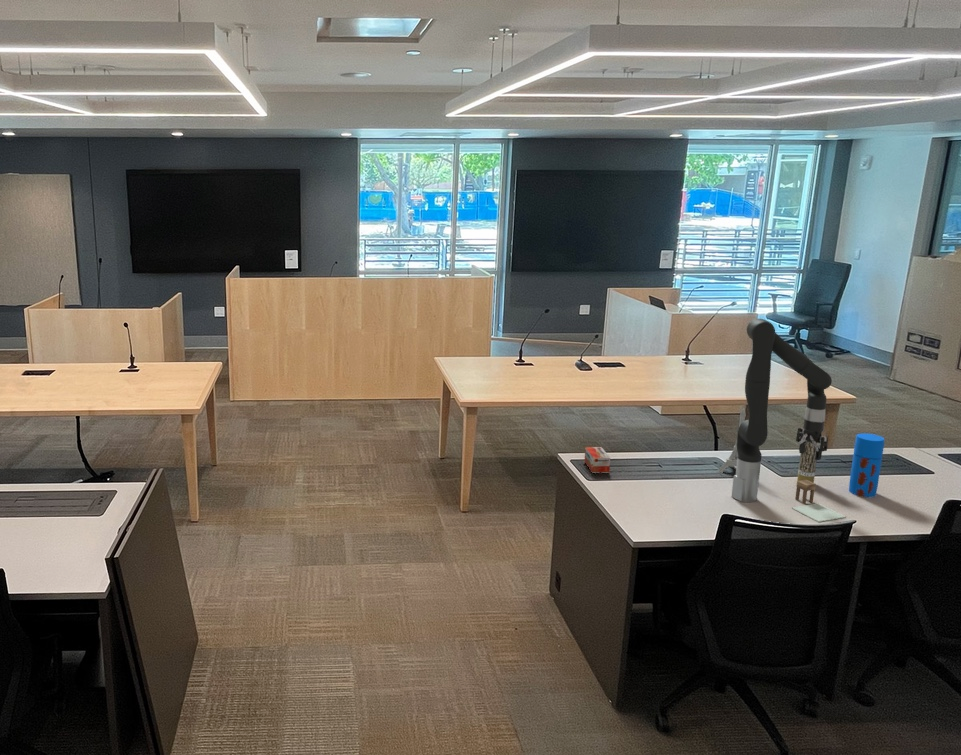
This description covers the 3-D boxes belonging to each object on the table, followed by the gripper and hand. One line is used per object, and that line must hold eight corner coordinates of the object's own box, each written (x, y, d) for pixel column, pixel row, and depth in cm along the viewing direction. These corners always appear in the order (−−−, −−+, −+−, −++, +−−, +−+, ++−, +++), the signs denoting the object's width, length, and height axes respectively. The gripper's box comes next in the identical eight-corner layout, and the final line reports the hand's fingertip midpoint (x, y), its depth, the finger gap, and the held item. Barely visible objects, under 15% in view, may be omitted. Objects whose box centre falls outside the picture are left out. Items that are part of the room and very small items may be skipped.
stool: (803, 503, 312) (806, 485, 310) (794, 499, 316) (797, 481, 314) (813, 502, 314) (815, 483, 312) (804, 497, 318) (806, 479, 316)
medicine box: (609, 474, 341) (610, 457, 339) (592, 474, 340) (593, 457, 338) (600, 462, 355) (601, 446, 353) (583, 463, 354) (584, 446, 352)
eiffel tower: (716, 472, 346) (723, 408, 339) (728, 464, 356) (735, 403, 349) (745, 479, 338) (752, 414, 331) (756, 471, 348) (763, 408, 341)
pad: (818, 522, 294) (818, 521, 294) (792, 508, 307) (792, 507, 306) (845, 517, 299) (846, 516, 299) (818, 504, 312) (818, 503, 311)
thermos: (853, 486, 333) (861, 431, 327) (879, 493, 325) (888, 437, 319) (844, 492, 325) (852, 436, 319) (870, 499, 318) (879, 442, 312)
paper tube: (799, 478, 340) (806, 425, 334) (815, 482, 336) (822, 428, 330) (794, 482, 335) (801, 428, 329) (810, 486, 331) (818, 432, 325)
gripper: (794, 414, 312) (789, 451, 316) (820, 424, 299) (815, 463, 303) (808, 413, 314) (803, 450, 318) (835, 422, 302) (830, 461, 305)
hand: (809, 456), depth 311 cm, fingers open, 8 cm apart
